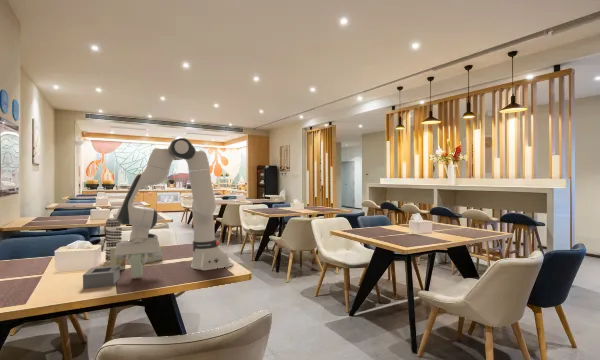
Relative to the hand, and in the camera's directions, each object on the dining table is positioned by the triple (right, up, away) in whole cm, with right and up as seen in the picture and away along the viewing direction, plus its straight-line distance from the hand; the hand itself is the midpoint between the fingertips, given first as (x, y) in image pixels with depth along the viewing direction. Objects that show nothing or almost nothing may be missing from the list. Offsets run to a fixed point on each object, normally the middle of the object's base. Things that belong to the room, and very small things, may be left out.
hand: (136, 263), depth 156 cm
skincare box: (-18, -8, +16) cm, 25 cm away
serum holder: (-13, -8, -6) cm, 16 cm away
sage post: (0, -6, +1) cm, 6 cm away
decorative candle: (-32, -8, +36) cm, 48 cm away
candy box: (-9, -8, +30) cm, 32 cm away
